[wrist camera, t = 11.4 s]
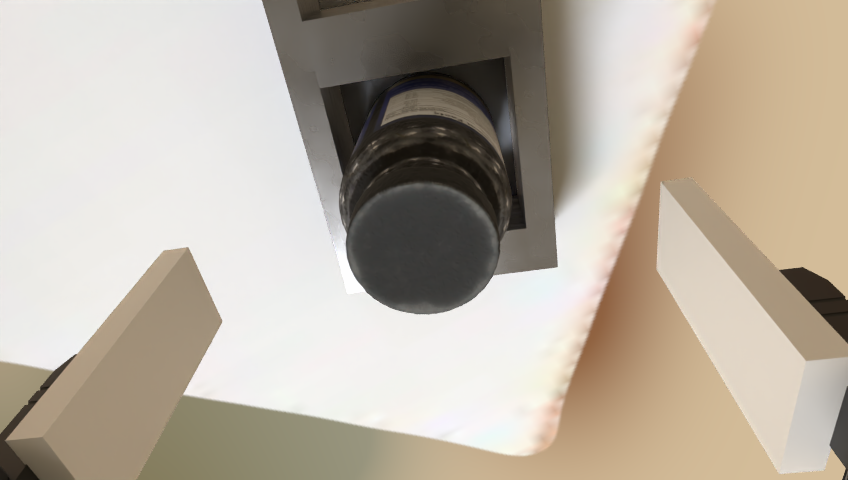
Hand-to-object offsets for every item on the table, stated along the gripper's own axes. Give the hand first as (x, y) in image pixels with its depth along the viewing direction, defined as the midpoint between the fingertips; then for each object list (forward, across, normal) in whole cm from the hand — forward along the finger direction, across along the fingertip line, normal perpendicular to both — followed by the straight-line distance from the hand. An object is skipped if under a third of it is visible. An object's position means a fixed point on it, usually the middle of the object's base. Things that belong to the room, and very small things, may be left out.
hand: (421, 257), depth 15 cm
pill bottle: (+12, 0, -1) cm, 12 cm away
